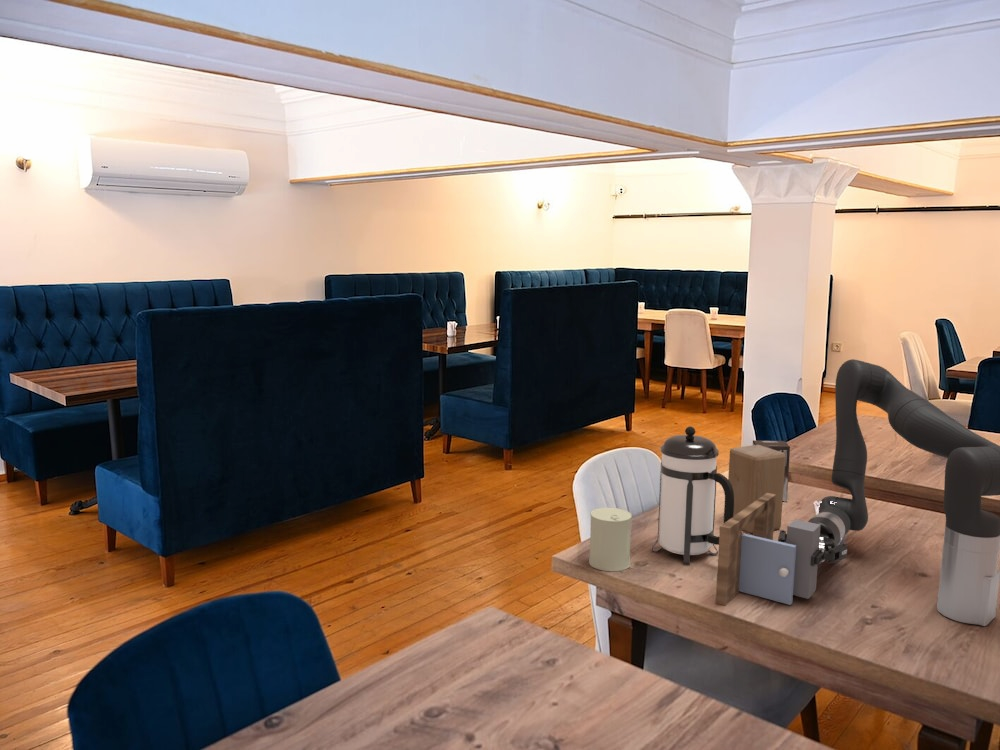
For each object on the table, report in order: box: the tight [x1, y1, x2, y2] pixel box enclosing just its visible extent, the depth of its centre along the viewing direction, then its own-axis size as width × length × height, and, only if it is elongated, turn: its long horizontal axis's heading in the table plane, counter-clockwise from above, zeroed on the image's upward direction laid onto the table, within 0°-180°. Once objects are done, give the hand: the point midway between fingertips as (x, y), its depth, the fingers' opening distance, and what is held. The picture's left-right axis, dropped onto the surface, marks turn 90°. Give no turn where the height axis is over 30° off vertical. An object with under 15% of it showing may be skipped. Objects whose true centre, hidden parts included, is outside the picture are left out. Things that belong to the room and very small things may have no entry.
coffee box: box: [752, 440, 791, 503], centre depth 223 cm, size 9×6×16 cm
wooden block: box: [727, 444, 786, 535], centre depth 200 cm, size 10×10×20 cm
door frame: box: [715, 493, 776, 606], centre depth 166 cm, size 27×2×16 cm, turn 143°
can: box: [588, 507, 633, 573], centre depth 176 cm, size 9×9×12 cm
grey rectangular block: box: [786, 518, 821, 600], centre depth 159 cm, size 5×5×14 cm
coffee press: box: [651, 426, 734, 565], centre depth 180 cm, size 17×16×30 cm
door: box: [739, 532, 796, 606], centre depth 159 cm, size 12×2×12 cm, turn 53°
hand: (798, 557), depth 157 cm, fingers closed on grey rectangular block, 5 cm apart
